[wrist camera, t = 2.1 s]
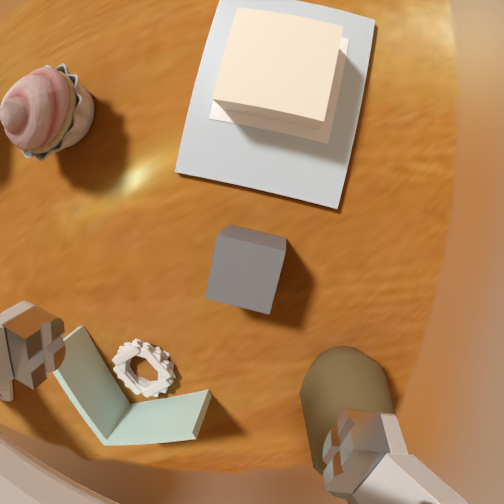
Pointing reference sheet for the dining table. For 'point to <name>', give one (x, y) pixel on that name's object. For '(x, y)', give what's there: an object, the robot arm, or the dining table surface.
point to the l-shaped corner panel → (115, 402)
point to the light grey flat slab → (276, 131)
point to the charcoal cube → (246, 268)
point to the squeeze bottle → (340, 396)
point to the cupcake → (46, 111)
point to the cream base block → (278, 67)
